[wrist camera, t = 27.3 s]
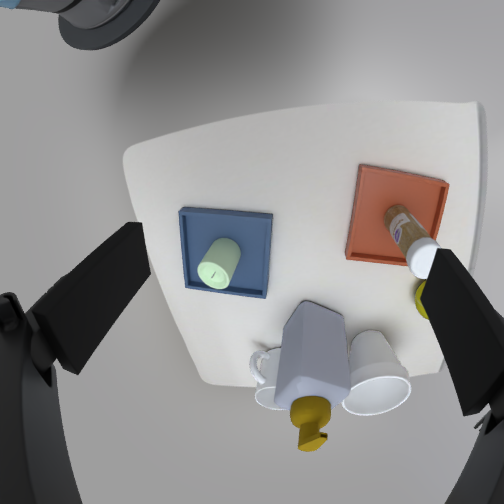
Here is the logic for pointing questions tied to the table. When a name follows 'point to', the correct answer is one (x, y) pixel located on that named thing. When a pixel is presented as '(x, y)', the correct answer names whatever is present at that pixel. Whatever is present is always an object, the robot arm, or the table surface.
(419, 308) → the tennis ball
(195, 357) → the table surface
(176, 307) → the table surface
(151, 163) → the table surface
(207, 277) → the candle
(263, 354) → the mug
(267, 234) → the blue tray
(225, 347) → the table surface
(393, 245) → the terracotta tray
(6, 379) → the robot arm
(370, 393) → the cup
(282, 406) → the soap bottle
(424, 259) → the sprinkles bottle
